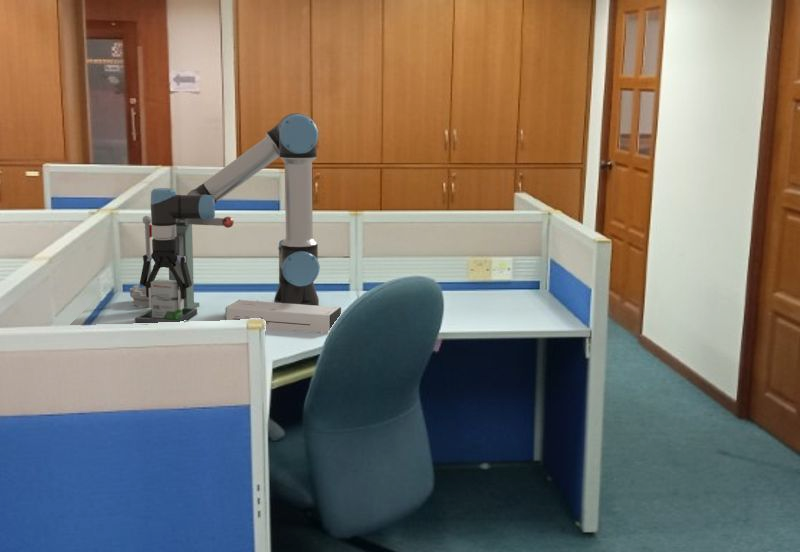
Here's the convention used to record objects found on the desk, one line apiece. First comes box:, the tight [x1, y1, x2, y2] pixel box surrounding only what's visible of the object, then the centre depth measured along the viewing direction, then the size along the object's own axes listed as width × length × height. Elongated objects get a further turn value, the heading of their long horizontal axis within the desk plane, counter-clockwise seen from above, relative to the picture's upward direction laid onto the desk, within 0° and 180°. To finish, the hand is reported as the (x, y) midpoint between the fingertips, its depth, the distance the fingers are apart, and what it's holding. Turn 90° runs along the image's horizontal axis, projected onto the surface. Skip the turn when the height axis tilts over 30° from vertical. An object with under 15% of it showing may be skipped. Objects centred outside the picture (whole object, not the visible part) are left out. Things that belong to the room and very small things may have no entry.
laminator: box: [225, 299, 342, 334], centre depth 289 cm, size 34×12×6 cm, turn 77°
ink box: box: [151, 278, 183, 319], centre depth 292 cm, size 9×5×12 cm, turn 72°
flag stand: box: [129, 215, 153, 308], centre depth 311 cm, size 13×13×30 cm
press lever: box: [176, 216, 234, 229], centre depth 301 cm, size 21×5×4 cm, turn 81°
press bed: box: [134, 308, 198, 324], centre depth 293 cm, size 14×16×2 cm
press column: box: [168, 224, 200, 309], centre depth 304 cm, size 9×11×28 cm
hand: (166, 308), depth 293 cm, fingers closed on ink box, 9 cm apart
